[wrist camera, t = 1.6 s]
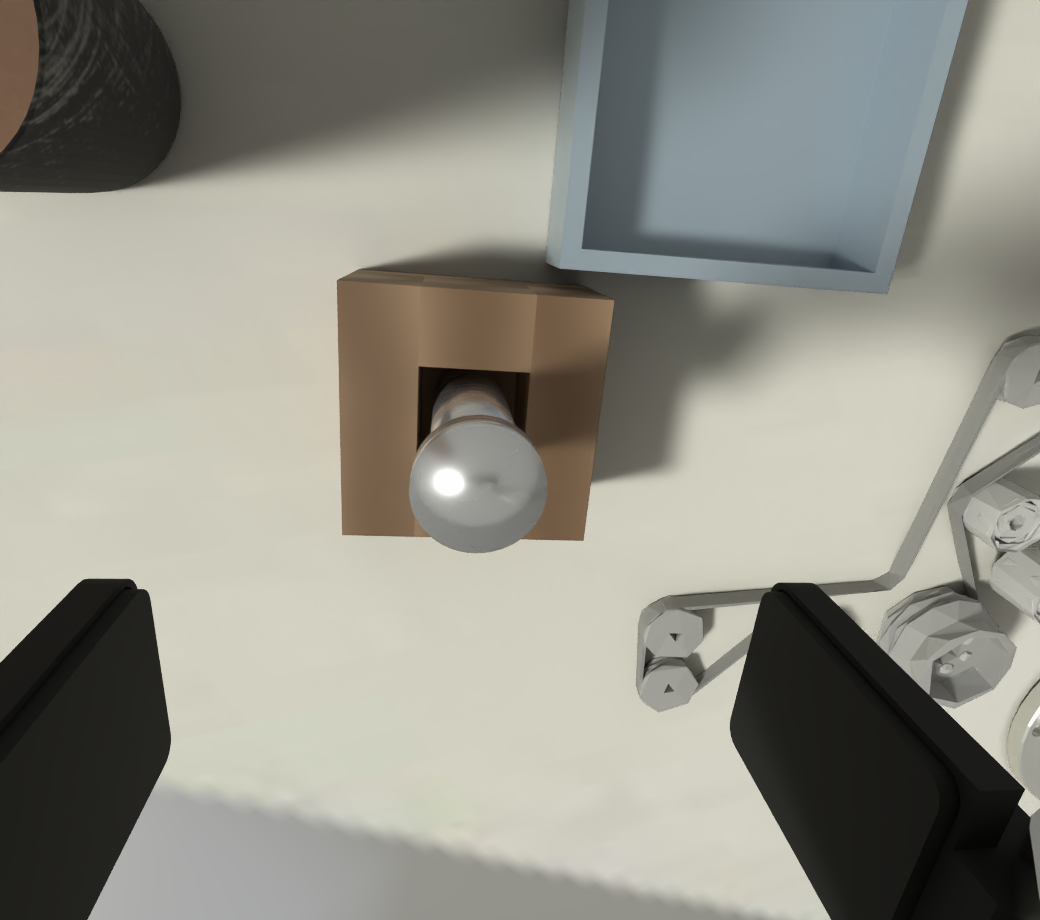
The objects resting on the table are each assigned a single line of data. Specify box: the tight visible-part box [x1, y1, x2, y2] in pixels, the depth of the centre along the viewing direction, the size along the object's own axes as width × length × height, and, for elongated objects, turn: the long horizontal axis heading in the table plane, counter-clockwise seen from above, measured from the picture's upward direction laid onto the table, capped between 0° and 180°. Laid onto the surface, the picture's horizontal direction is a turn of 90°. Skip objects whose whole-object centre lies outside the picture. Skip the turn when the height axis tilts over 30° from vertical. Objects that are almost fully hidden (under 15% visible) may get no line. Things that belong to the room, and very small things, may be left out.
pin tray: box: [545, 0, 968, 294], centre depth 22 cm, size 12×12×4 cm
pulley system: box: [636, 335, 1040, 712], centre depth 31 cm, size 27×5×15 cm
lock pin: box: [409, 368, 548, 553], centre depth 21 cm, size 4×4×10 cm
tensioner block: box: [337, 269, 614, 541], centre depth 24 cm, size 9×9×5 cm
